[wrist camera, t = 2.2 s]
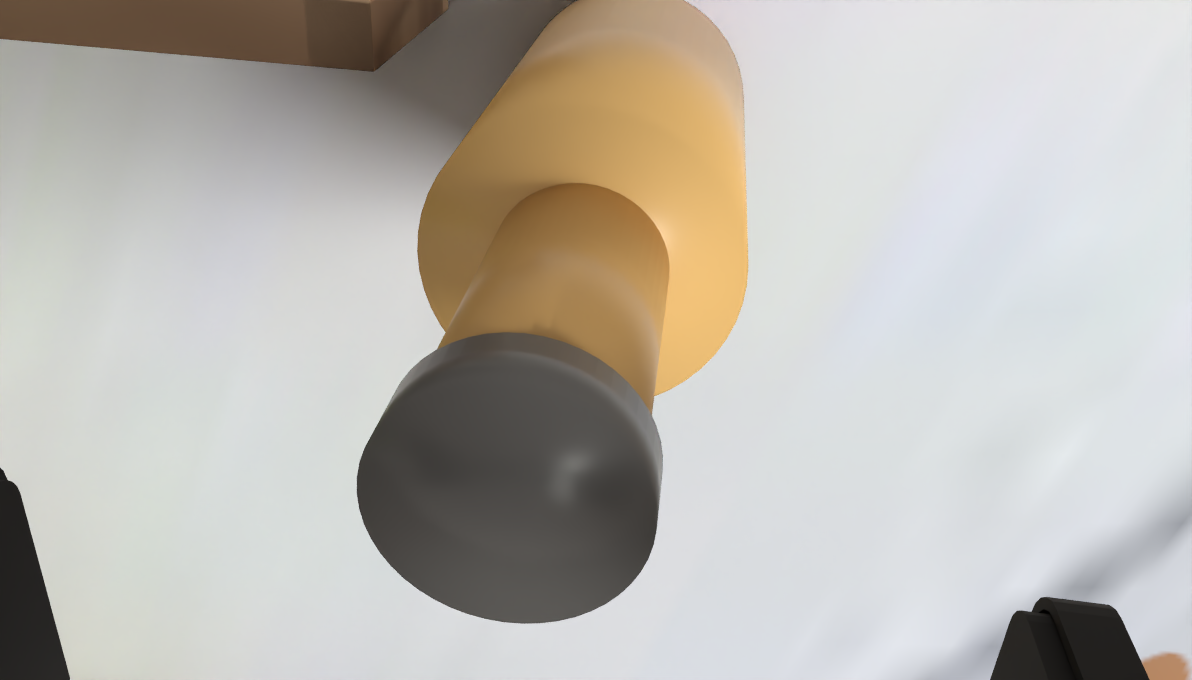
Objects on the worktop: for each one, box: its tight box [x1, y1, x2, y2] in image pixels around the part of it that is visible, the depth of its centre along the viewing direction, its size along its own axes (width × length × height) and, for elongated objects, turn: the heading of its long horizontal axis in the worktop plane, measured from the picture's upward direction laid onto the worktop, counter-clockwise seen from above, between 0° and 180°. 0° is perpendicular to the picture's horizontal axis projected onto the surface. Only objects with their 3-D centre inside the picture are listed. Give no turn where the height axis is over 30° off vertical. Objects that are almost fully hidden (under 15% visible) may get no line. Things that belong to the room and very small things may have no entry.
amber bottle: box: [357, 0, 748, 623], centre depth 17 cm, size 5×5×15 cm
